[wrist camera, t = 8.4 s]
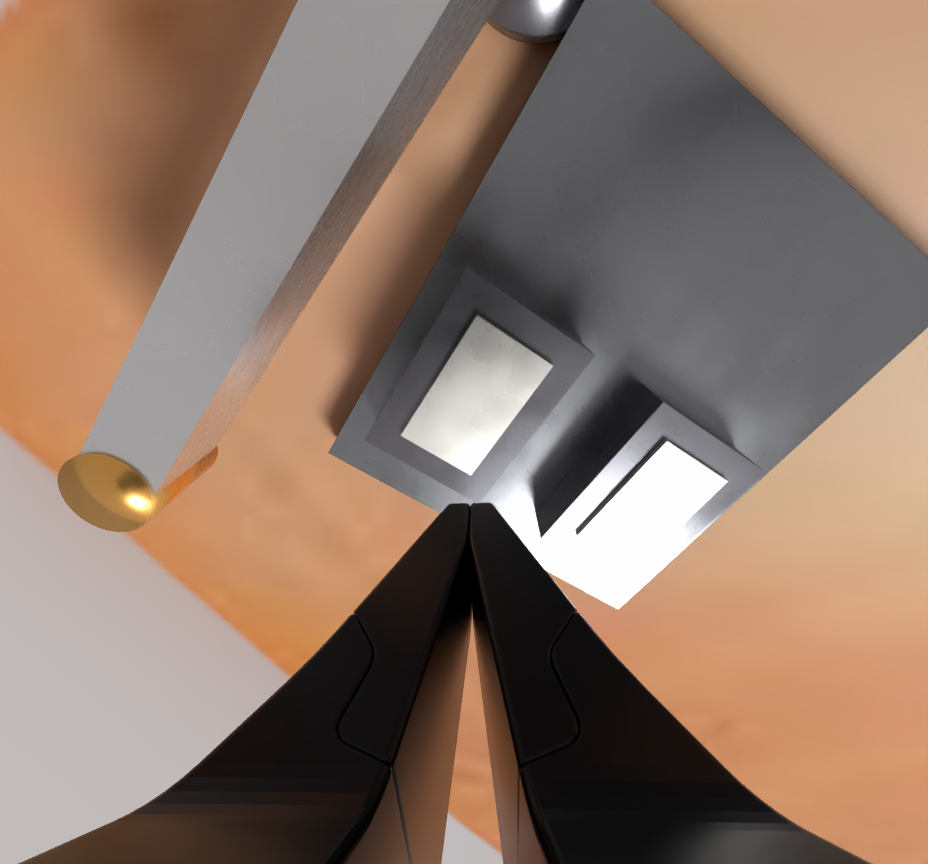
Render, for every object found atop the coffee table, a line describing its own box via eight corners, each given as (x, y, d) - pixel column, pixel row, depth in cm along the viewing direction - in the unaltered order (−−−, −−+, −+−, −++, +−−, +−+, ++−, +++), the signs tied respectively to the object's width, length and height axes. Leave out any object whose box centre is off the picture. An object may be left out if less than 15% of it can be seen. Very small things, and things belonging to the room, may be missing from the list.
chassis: (598, -20, 12) (634, -100, 10) (937, 289, 16) (1042, 301, 13) (335, 442, 19) (309, 479, 16) (612, 594, 22) (632, 647, 19)
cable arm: (459, -159, 8) (450, -367, 6) (547, -55, 9) (580, -194, 6) (133, 446, 14) (46, 499, 11) (199, 486, 15) (131, 546, 12)
